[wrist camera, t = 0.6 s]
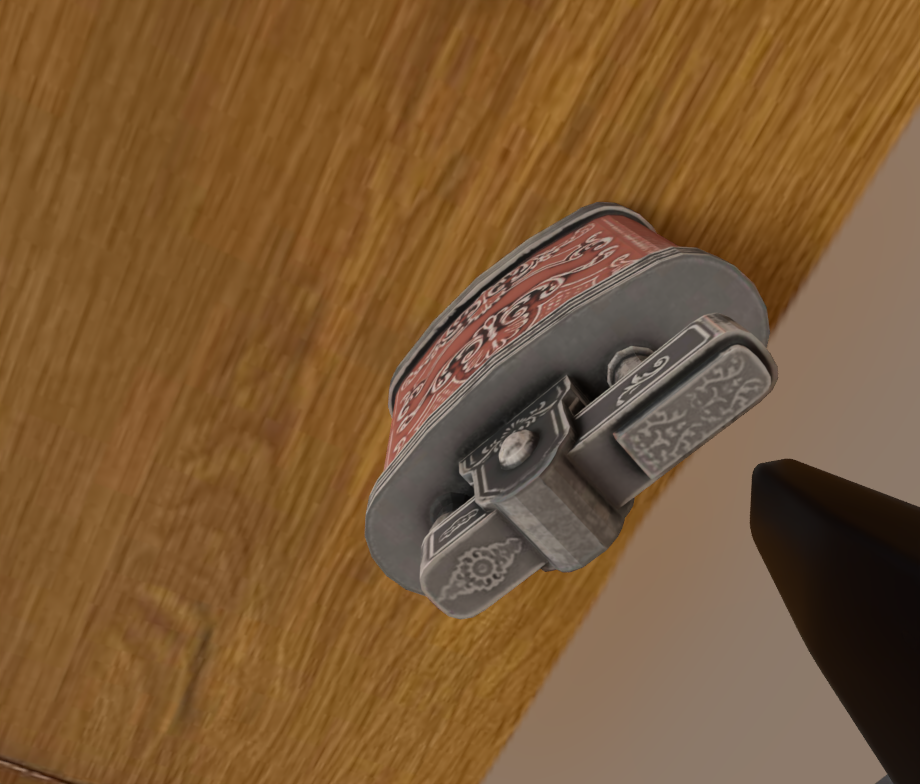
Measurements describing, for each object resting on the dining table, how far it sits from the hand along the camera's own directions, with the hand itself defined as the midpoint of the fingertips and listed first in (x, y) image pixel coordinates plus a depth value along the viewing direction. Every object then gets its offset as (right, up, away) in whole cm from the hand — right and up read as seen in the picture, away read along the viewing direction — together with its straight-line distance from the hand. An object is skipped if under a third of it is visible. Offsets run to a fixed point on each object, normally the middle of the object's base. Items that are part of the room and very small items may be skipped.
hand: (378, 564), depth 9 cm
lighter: (+2, +4, +12) cm, 13 cm away
